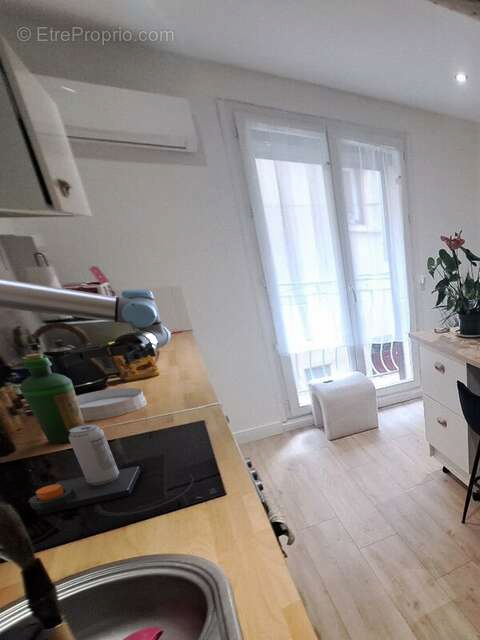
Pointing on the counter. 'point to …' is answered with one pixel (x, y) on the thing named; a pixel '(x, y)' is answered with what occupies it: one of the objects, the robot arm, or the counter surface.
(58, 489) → the tare button
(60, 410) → the bottle
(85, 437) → the energy drink can
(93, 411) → the dish
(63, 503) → the scale
